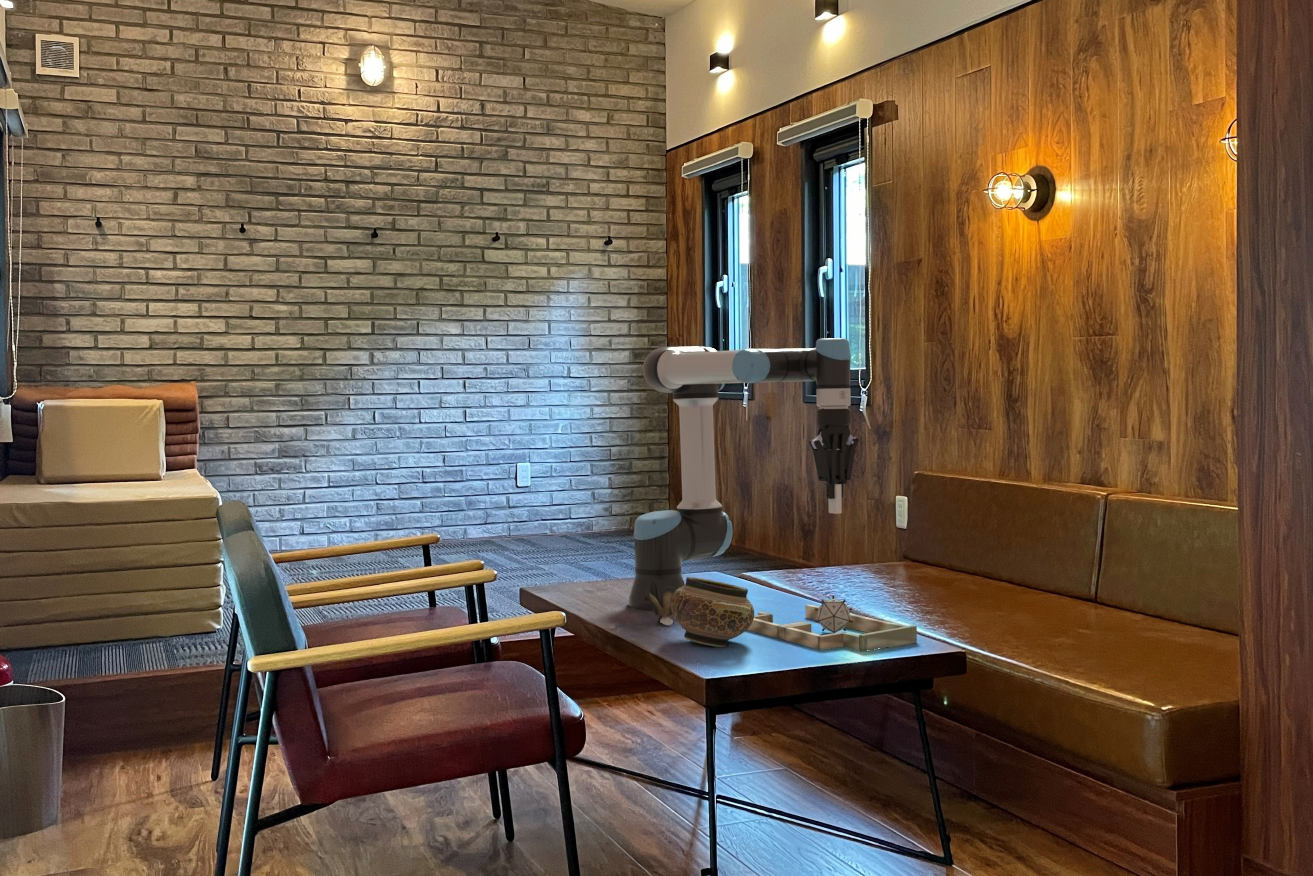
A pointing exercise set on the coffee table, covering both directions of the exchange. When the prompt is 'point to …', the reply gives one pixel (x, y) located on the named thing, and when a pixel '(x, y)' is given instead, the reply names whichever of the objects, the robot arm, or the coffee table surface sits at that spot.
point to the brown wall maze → (800, 632)
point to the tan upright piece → (666, 607)
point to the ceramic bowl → (711, 611)
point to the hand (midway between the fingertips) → (835, 512)
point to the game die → (833, 615)
